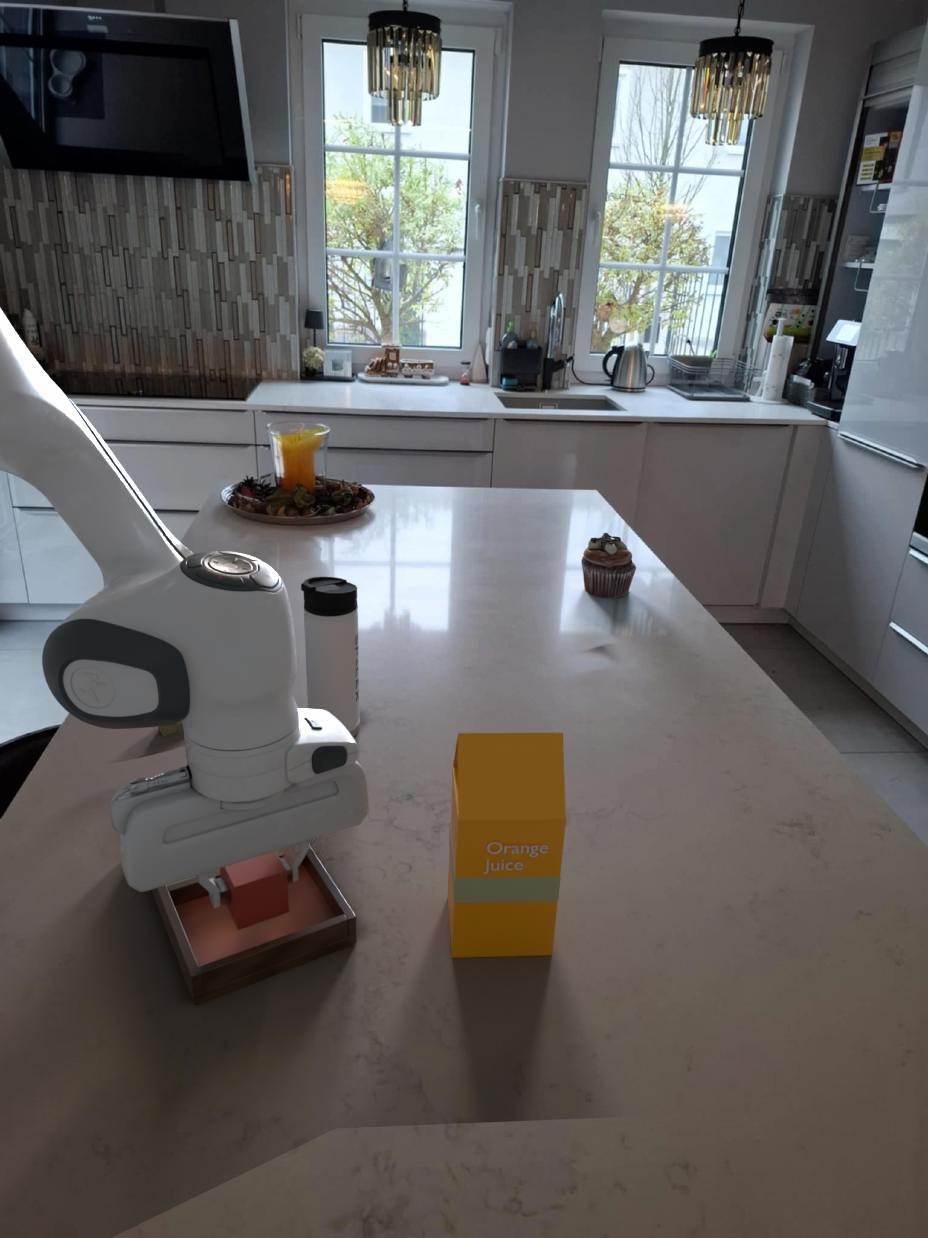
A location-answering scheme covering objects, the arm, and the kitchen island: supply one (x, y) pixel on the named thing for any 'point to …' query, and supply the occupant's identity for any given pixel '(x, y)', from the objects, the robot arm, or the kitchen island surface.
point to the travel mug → (332, 648)
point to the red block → (257, 889)
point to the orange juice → (505, 843)
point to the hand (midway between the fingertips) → (255, 890)
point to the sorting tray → (253, 931)
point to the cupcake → (607, 567)
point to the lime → (171, 728)
